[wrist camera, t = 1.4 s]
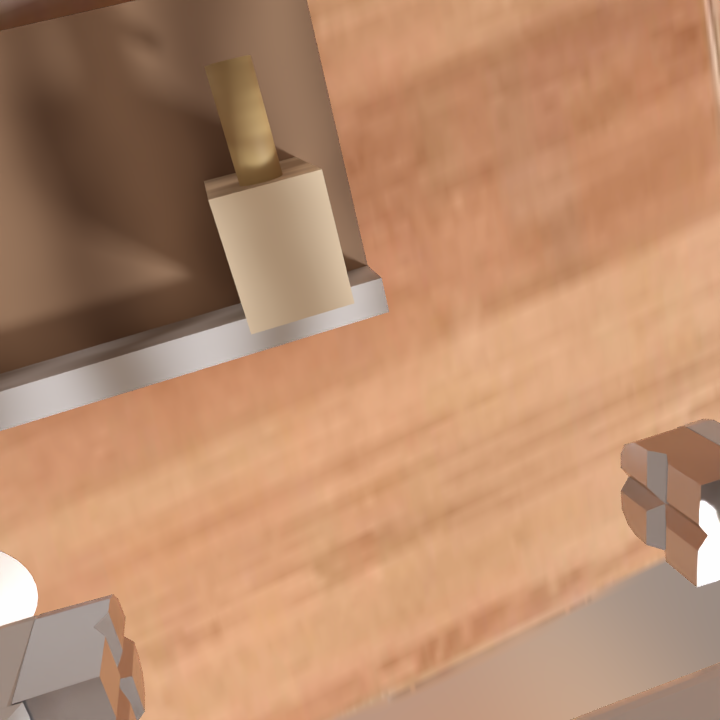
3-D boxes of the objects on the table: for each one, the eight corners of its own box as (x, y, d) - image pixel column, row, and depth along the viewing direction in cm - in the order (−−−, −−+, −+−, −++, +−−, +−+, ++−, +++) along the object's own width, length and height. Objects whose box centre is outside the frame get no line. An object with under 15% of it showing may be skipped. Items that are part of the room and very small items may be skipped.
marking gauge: (269, 56, 26) (291, 43, 21) (323, 267, 30) (354, 303, 24) (171, 79, 26) (167, 72, 20) (239, 292, 29) (251, 334, 24)
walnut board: (291, -27, 27) (308, -50, 23) (364, 286, 33) (388, 312, 29) (-279, 102, 24) (-371, 101, 20) (-90, 422, 30) (-133, 471, 26)
